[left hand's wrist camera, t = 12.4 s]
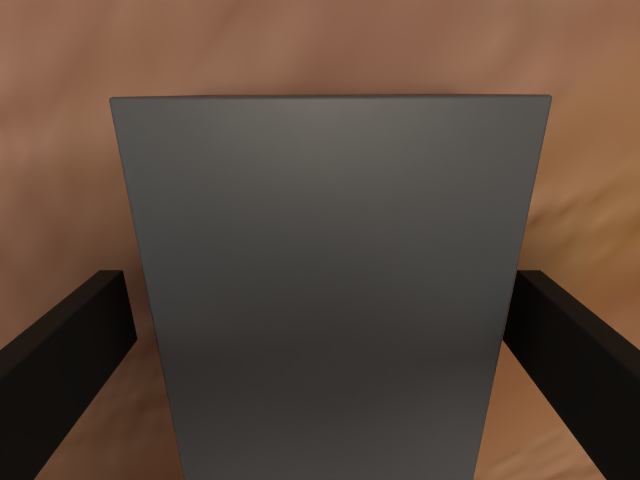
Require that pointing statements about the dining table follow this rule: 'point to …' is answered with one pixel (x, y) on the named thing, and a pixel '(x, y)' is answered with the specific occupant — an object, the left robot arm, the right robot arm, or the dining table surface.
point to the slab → (329, 273)
